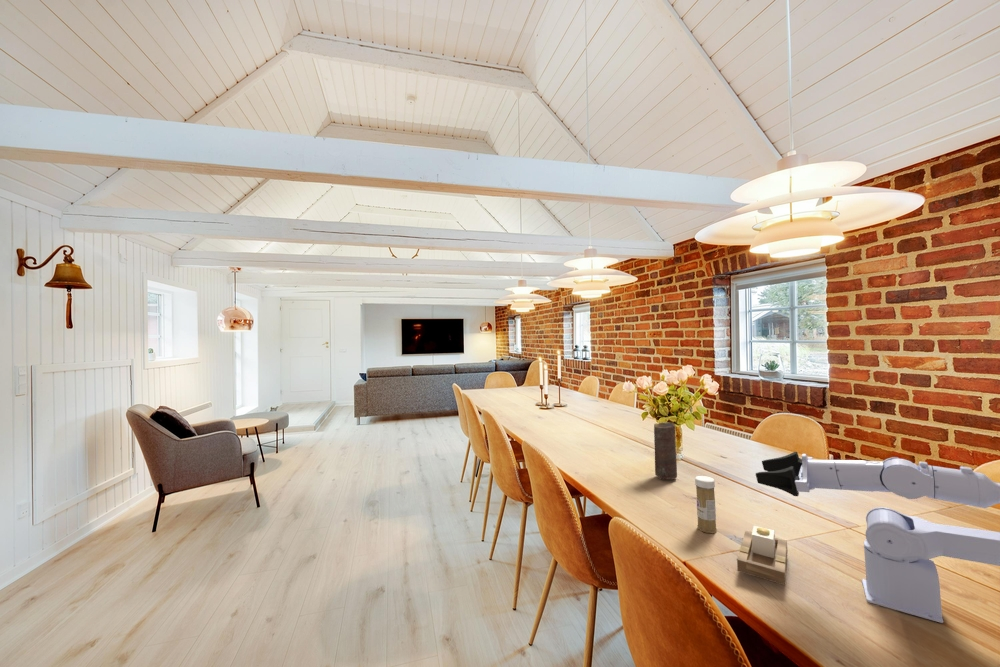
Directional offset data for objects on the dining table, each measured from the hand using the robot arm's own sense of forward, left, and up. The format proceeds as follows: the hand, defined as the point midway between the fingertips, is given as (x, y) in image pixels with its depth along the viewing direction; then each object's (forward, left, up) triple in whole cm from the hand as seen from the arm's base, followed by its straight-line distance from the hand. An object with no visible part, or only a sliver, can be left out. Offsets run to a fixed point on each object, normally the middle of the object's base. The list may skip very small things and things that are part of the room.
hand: (760, 471), depth 86 cm
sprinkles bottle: (+13, -8, -20) cm, 25 cm away
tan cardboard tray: (0, +3, -20) cm, 20 cm away
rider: (0, +1, -17) cm, 17 cm away
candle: (+32, -41, -20) cm, 56 cm away
